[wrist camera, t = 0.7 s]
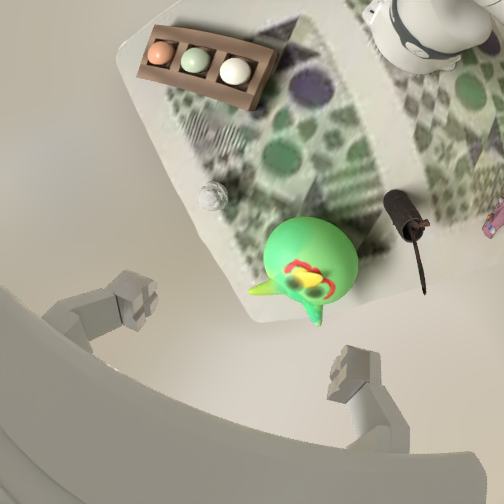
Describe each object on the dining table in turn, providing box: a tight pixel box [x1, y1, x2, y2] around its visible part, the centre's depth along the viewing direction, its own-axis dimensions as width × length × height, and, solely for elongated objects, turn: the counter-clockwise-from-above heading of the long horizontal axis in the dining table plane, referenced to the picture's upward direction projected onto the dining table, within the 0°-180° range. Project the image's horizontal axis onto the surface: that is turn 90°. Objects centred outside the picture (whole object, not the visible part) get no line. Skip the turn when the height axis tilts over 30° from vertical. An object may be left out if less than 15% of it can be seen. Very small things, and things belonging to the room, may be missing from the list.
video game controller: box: [482, 198, 504, 239], centre depth 37 cm, size 10×5×7 cm, turn 154°
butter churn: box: [384, 190, 430, 295], centre depth 34 cm, size 9×10×28 cm
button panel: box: [137, 25, 279, 111], centre depth 41 cm, size 12×25×4 cm, turn 68°
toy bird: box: [248, 217, 359, 326], centre depth 50 cm, size 18×17×15 cm
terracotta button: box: [148, 41, 176, 65], centre depth 39 cm, size 5×5×2 cm
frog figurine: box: [198, 181, 228, 211], centre depth 53 cm, size 6×7×7 cm
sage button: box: [181, 48, 211, 73], centre depth 38 cm, size 5×5×2 cm
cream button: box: [220, 58, 252, 85], centre depth 38 cm, size 5×5×2 cm
